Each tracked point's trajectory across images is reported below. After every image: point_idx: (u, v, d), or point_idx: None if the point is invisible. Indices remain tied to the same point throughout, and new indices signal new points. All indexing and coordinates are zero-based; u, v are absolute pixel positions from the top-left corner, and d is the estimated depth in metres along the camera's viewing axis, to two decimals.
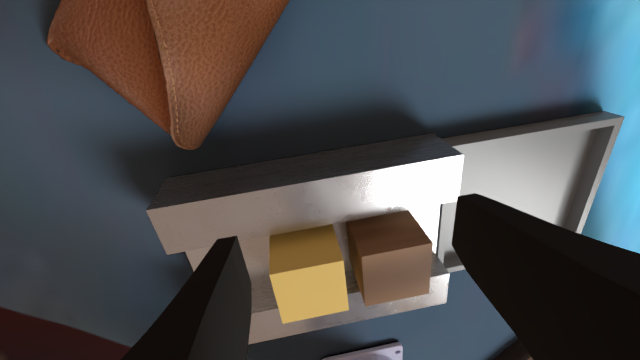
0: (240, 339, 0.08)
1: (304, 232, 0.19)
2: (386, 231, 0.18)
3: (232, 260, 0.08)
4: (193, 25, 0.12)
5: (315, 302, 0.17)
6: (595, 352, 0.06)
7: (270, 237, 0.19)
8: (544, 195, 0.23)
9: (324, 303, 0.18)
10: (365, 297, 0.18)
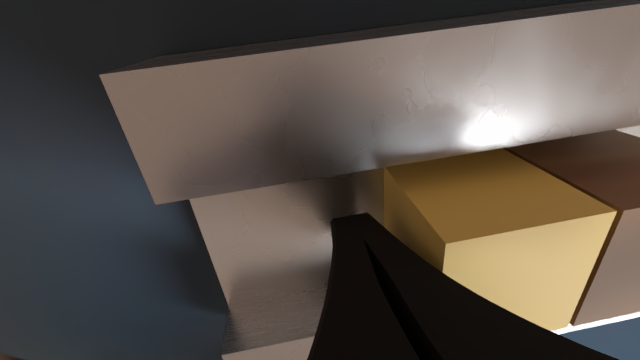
0: None
1: (462, 167, 0.09)
2: (626, 165, 0.08)
3: None
4: None
5: (514, 311, 0.08)
6: None
7: (395, 176, 0.09)
8: None
9: (530, 312, 0.08)
10: (582, 307, 0.08)
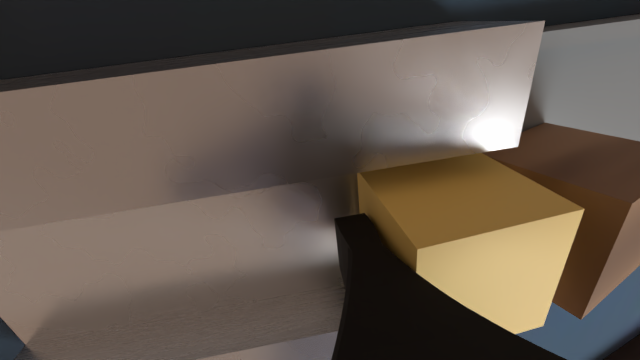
0: None
1: (435, 168, 0.09)
2: (588, 156, 0.09)
3: None
4: None
5: (490, 313, 0.08)
6: None
7: (368, 181, 0.09)
8: None
9: (506, 313, 0.08)
10: (590, 300, 0.08)
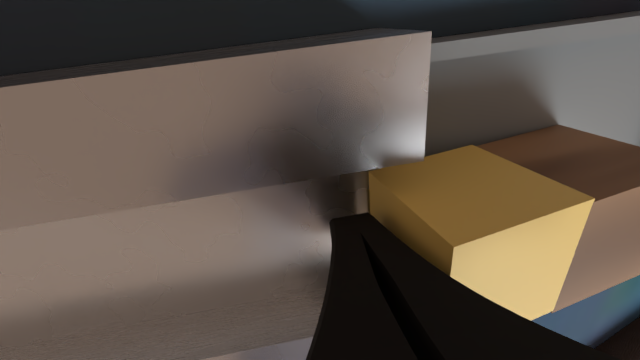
0: None
1: (446, 167, 0.09)
2: (581, 158, 0.09)
3: None
4: None
5: (510, 303, 0.08)
6: None
7: (384, 182, 0.09)
8: None
9: (523, 302, 0.08)
10: (559, 294, 0.09)
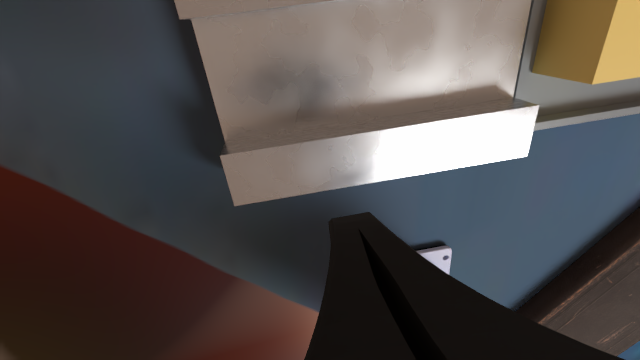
0: None
1: None
2: None
3: None
4: None
5: (639, 52, 0.15)
6: None
7: None
8: None
9: None
10: None
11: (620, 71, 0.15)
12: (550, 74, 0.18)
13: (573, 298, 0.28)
